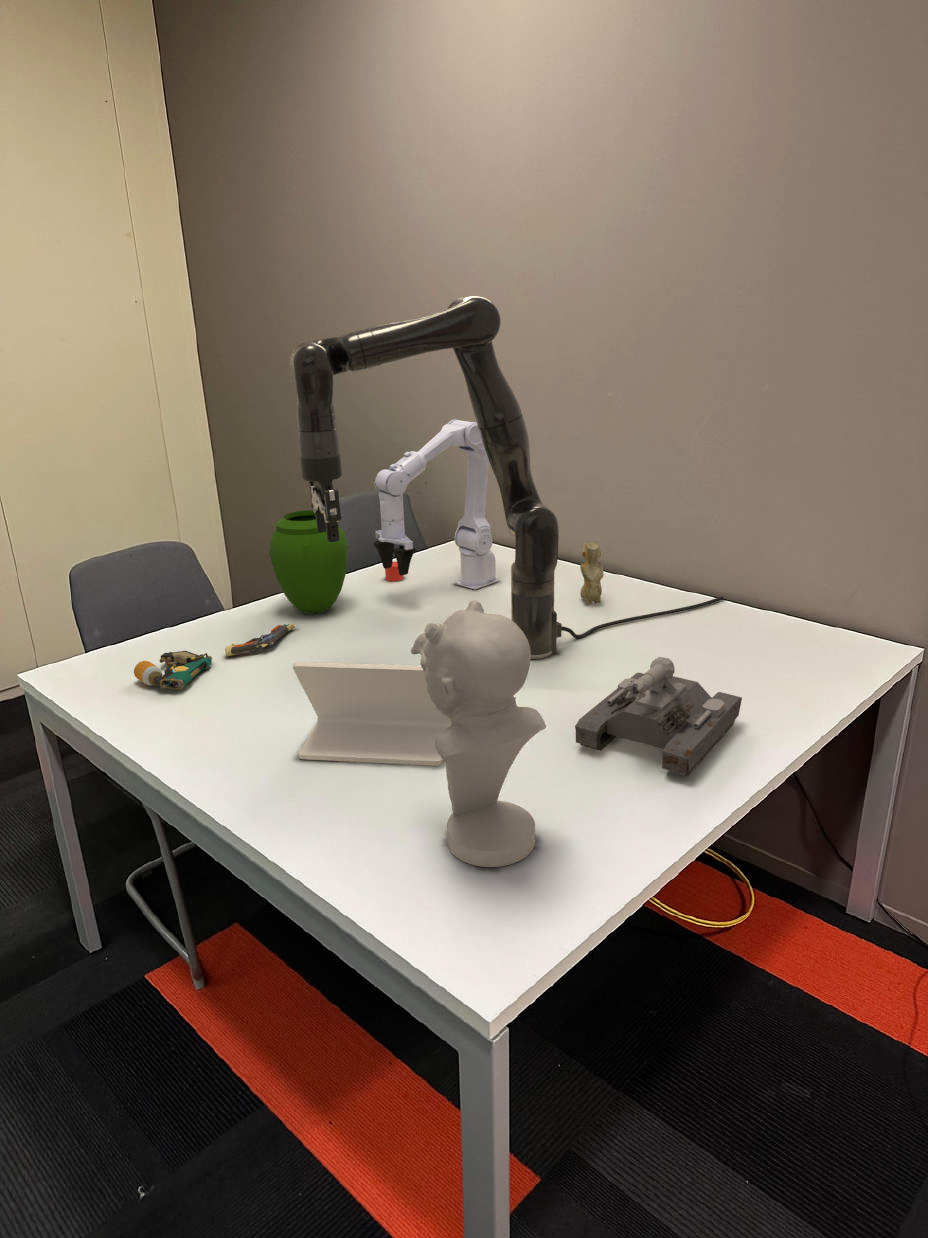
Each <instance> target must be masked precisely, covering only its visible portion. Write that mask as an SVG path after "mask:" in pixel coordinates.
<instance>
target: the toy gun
mask: <svg viewBox="0 0 928 1238" xmlns="http://www.w3.org/2000/svg"><path fill="white" fill-rule="evenodd" d="M295 628H296V626H295V623H287V624H286V623H284V624H278V625H276V626H275V627H273V628H271V630H270V633H265V634H264V633H263V634H261V635H260V636H259V637H254V638H251V639H250V640H248V641H246V642H244V643H240V644H235V643H231V644H228V645H227V646H226V647H225V648H224V651H225V655H226V656H227V657H229V656H236V655H238V654H243V653H248V652H251V651H254V650H258V649H261V648H265V647H269V646H273V645H274V643H276V642H277V641H278V640H279V639H280V638H281V637H282V636H284V634H286V633H287V632H290V630H292V629H295Z"/></svg>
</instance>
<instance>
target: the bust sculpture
mask: <svg viewBox="0 0 928 1238" xmlns="http://www.w3.org/2000/svg"><path fill="white" fill-rule="evenodd" d="M530 653H531V652H530V646H529V643H528V640H527V638H526V636H525V634H524V633H523V632H522V630H521V629H520V628H519V627H518V626H517V625H516V624H515V623H514V622H513V621H512V620H511V618H508V617H507V616H504V615H503V614H502V615H501V614H496V613H485V609H484V607H483V605H482V603H481V602H480V601H478V600H473V599H472V600H470V601H469V603H468V605H467V607H466V609H460V610H457V611H455V612H453V613H451V615H449V616H448V617H447V618H446V619H445V620H444V622H442V624H441V623H435V622H430V623H428V624H427V625H426V626H425V628H424V632H423V633H421V634H419V635H418V636H417V637H416V638H415V640H414V642H413V645H412V647H411V649H410V654H412V655H420V666H421V667H422V669H423V670H424V671H425V681H426V683H427V691H428V693H429V695H430V698H431V701H432V702H433V703H434V704H435V706H436V708H437V709H438V710H439V711H440V712H441V713H442V714H443V715H446V716H447V717H448V718H449V719H450V720H451V726H450V727H448V728H446V729H445V730H443V731H442V732H441V733H440V734H439V735H438V736H437V737H436V740H435V747H436V750H437V752H438V753H439V755H440V756H441V758H442V759H443V760H442V762H444V763H445V771H446V781H447V790H448V796H449V800H450V803H451V810H452V813H451V814H450V815H449V817H448V819H447V822H446V844H447V847H448V849H449V851H450V852H451V854H452V855H453V856H454V857H456V858H457V859H459V860H460V861H462V862H463V863H466V864H469V865H471V866H476V867H483V868H498V867H505V866H509V865H512V864H517V862H520V861H521V860H523V859H525V858H527V856H528V855H530V854H531V852H532V851H533V849H535V848H534V847H535V845H536V822H535V821H536V820H535V819H534V817H533V816H532V814H531V813H530V812H529V811H528V810H526V809H525V808H524V807H522V806H520V805H517V804H515V803H513V802H509V801H504V800H499V796H500V793H501V790H502V788H503V785H504V783H505V780H506V778H507V776H508V773H509V771H510V769H511V768H512V765H513V763H514V761H515V760H516V759H517V756H518V755H519V753H520V752H521V750H522V749H523V748H524V747H525V745H526V744H527V743H528V742H529V741H530V740H531V739H532V738H533V737H535V735H537V734H538V733H539V732H541V731H544V730H545V729H546V728H547V725H546V723H545V720H544V718H543V717H542V714H541V713H540V712H539V711H538V710H537V709H535V708H533V707H530V706H518V705H517V701H516V699H517V698H516V696H515V695H516V694H517V693H519V691H521V689H522V688H523V686H524V684H525V683H526V680H527V678H528V675H529V669H530V666H531V659H530V656H531V655H530Z"/></svg>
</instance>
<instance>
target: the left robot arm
mask: <svg viewBox="0 0 928 1238" xmlns="http://www.w3.org/2000/svg"><path fill="white" fill-rule="evenodd" d="M450 447H457V448H458V449H460V450H461V451H462V452H463V453H464V454H465V455H466V457H467V471H466V485H465V496H464V497H465V499H464V513H463V517H462V518H460V519H459V520H458V521H457V528H456V530H455V533H454V544H455V545H456V546H457V547H458V551H459V552H460V553H459V555H460V579H459V580H457V581H454V585H457V586H461V587H464V588H468V589H471V590H478V589H481V588H483V587H486V586H489V585H492V584H495V583H497V582H499V579H497V575H496V574H497V573H496V572H497V569H496V557H495V554H494V552H493V551H492V550H491V549H492V546H493V544H494V543H493V542H494V541H493V539H494V538H493V536H492V526H491V524H490V523H489V521H488V520H487V519H486V504H487V495H488V494H487V492H488V480H489V466H490V462H489V459H488V456H487V453H486V451H485V448H484V445H483V442H482V439H481V436H480V433H479V429H478V426H477V422H476V421H466V420H460V419H458V418H456V419H455V418H453V419H451V420H450V421H448V422H447V423H446V424H444V425H443V426H442V427H441V430H440V431H439V432H438V433H437V434H435V436H434V437H432V439H430V440H429V441H428V442H427V443H426V444H424V446H422V447H421V448H420V449H419V450H418V451H414V450H411V451H406V452H404V453H403V456H402V457H401V458H400V459H399V460H398V461H396V462H395V463H391V464H390V465H389V468H388V469H381V470H380V471H379V472H378V473H377V474H376V476H375V481H373V486H374V488H375V490H376V491H377V494H378V498H379V510H380V511H379V512H380V525H381V526H380V527H381V529H379V530H375V533H374V534H375V539H376V541H375V540H374V541H373V544H372V545H373V546H374V548H375V549H376V551H377V553H378V555H379V558H380V560H381V564H382V567H383V569H384V570H385V569H386V568H391V567H392V562H394V560H393V559H394V557H395V560H396V562H397V564H398V571H399V574H400V575H401V576H402V575H403V576H406V575H408V574H409V570H410V565H411V561H412V558H413V556H414V554H415V553H416V547H415V546H414V541H413V540H411V539H410V538H409V537H408V535H406V530H405V529H406V527H405V512H404V493H405V492H406V490H407V489H408V485H409V484H410V483H411V482H412V481H413V480H415V478H417V477H418V476H419V475H421V474H423V472H424V471H425V470H426V467H427V463H429V461H431V460H433V459H434V458H435V457H437V456H439V455H440V454H441V453H442V452H444V451H445V450H447V449H448V448H450ZM395 546H398V547H396V548H394V547H395ZM393 554H394V555H393ZM393 556H394V557H393Z"/></svg>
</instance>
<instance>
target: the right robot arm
mask: <svg viewBox="0 0 928 1238" xmlns="http://www.w3.org/2000/svg"><path fill="white" fill-rule="evenodd" d="M501 323H502V321H501V315H500V311H499V310H498V307H496V305H495V304H494V303H493V302H492V301H491V300H489V299H488V298H485V297H482V296H480V295H479V296H478V295H468V296H463V297H458V298H456V299H454V300H453V301H452V302H451V303H450V304H449V305H448V306H447V309H444V310H442V311H440V312H437V313H434V314H431V315H427V316H424V317H420V318H419V317H418V318H414V319H408V320H405V321H404V320H403V321H396V322H389V323H383V324H379V325H374V326H370V327H366V328H362V329H357V330H354V331H351V332H347V333H345V334H341V335H338V336H333V337H327V338H321V339H315V340H309V341H306V342H302V343H300V344H298V345H297V346H295V347H294V348H293V350H292V352H291V354H290V357H289V365H290V369H291V371H292V373H293V374H294V381H295V388H296V395H297V402H296V418H297V428H298V450H299V451H298V452H299V459H300V468H301V469H300V470H301V478H302V479H303V480H304V481H306V482H308V485H309V492H310V493H309V494H310V503H311V504H310V507H311V508H312V510H313V511H314V513H317V514H316V524H317V531H318V532H327V540H328V541H329V542H336V541H339V529H338V526H339V522H340V521H342V514H341V505H340V497H339V489H338V488H335V487H334V485H333V481H334V480H338V479H340V478H341V477H342V476H343V475H342V473H343V471H342V462H341V461H342V460H341V450H340V440H339V435H338V431H337V422H336V412H335V410H336V409H335V405H334V376H336V375H340V374H344V373H349V372H350V373H354V372H355V373H356V372H362V371H366V370H371V369H374V368H377V367H383V366H385V365H389V364H393V363H395V362H400V361H402V360H405V359H409V358H412V357H416V356H420V355H423V354H427V353H432V352H437V351H442V350H448V349H449V350H450V349H452V350H453V352H454V354H455V358H456V360H457V362H458V364H459V366H460V369H461V372H462V373H463V378H464V381H465V385H466V389H467V393H468V396H469V400H470V404H471V409H472V411H473V414H474V420H475V422H477V426H478V429H479V433H480V436H481V439H482V442H483V445H484V448H485V451H486V453H487V456H488V459H489V465H490V467H491V470H492V472H493V474H494V477H495V479H496V482H497V484H498V489H499V493H500V496H501V497H500V498H501V501H502V506H503V512H504V516H505V523H506V525H507V529H508V532H509V533H510V535H511V536H512V537H513V539H514V541H515V543H514V544H515V545H514V546H515V551H514V552H515V553H514V562H512V564H511V567H510V588H511V589H510V597H511V599H510V603H511V604H510V606H511V607H510V609H511V610H510V615H511V617H510V619H511V620H512V621H513V622H514V623H515V624H516V625H517V626H518V627H519V628H520V629H521V630H522V632H523V633H524V634H525V636H526V638H527V640H528V643H529V646H530V652H531V653H530V655H531V656H530V660H540V659H545V658H548V657H550V656H552V655H557V654H558V653H557V650H558V649H557V648H558V647H557V645H558V644H557V643H558V638H561V637H562V632H563V631H564V632H567V633H569V634H570V635H571V636H572V637H573V638H574V639H577V640H578V639H579V640H580V639H584V638H586V637H588V636H590V635H591V634H592V633H594V632H596V631H598V630H602V629H605V628H608V627H611V626H615V625H620V624H626V623H630V622H635V621H639V620H640V621H641V620H645V619H649V618H654V617H661V616H666V615H672V614H676V613H680V612H685V611H690V610H694V609H697V608H702V607H705V606H708V605H709V606H710V605H712V604H714V603H718V602H720V601H723V600H724V598H725V597H724V596H723V595H722V596H718V597H716V598H712V599H710V600H707V601H704V602H700V603H696V604H693V605H688V606H687V605H686V606H683V607H679V608H673V609H669V610H663V611H657V612H652V613H646V614H641V615H636V616H630V617H627V618H621V619H618V620H613V621H610V622H605V623H601V624H599V625H596V626H594V627H591V628H590V629H588V630H587V631H585V632H584V633H582V634H581V633H580V634H577V633H576V632H574V630H573V629H572V628H569V627H567V626H563V623H561V622H559V621H558V613H557V612H556V611H555V572H556V571H555V570H556V567H557V565H558V558H559V540H560V537H559V536H560V534H559V533H560V532H559V531H560V530H559V527H560V526H559V522H558V518H557V516H556V515H555V513H554V511H552V510H551V509H550V508H548V507H547V506H545V505H544V503H543V502H542V500H541V498H540V496H539V493H538V490H537V487H536V484H535V482H534V479H533V475H532V469H531V447H530V446H531V445H530V439H529V433H528V429H527V426H526V423H525V419H524V416H523V412H522V409H521V406H520V403H519V401H518V399H517V397H516V394H515V393H514V391H513V389H512V387H511V386H510V384H509V383H508V380H507V379H506V377H505V375H504V374H503V372H502V370H501V369H502V368H501V367H500V366H499V361H498V359H497V356H496V352H495V348H494V344H493V341H494V340H495V338H496V337H497V335H498V334H499V332H500V329H501ZM331 513H333V514H331Z"/></svg>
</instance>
